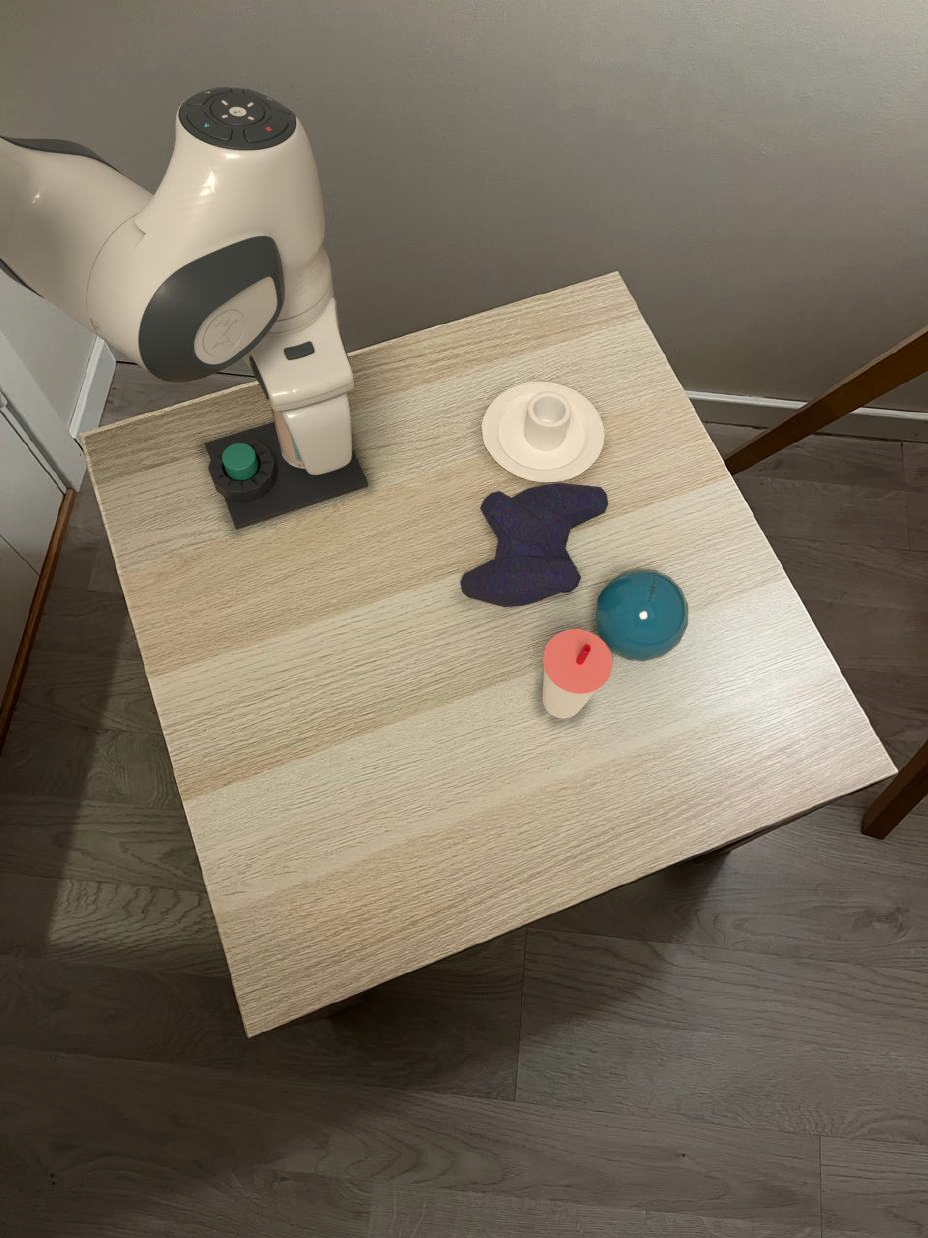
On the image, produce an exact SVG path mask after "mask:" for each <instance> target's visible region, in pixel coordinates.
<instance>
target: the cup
mask: <svg viewBox="0 0 928 1238" xmlns="http://www.w3.org/2000/svg"><path fill="white" fill-rule="evenodd" d="M542 663H543V679H542V680H543V681H542V704H543V707H544V709H545V711H546V712H547V713H548V714H549V715H551V716H553V717H554V718H557V719H561V720H562V719H563V720H564V719H571V718H573V717H574V716H576V715H578V713H580V711H581V709H582V708H584V707H585V705H586V704H587V703H588V702H589V700H591V698H592V697H593V696H594V694H596V692H597V691H598V690H599V689H600V688H602V687H603V686H604V685H605V684H606V683H607V682H608V680H609V678H611V677H610V676H611V675H612V671H613V656H612V653H611V650H610V649H609V648H608V647H607V645H606V644H605V642H604V641H603V640H602V639H601V638H600V637H599V635H597V634H595V633H593V632H591V631H588V630H585V629H582V628H581V629H578V628H572V629H566V630H563V631H560V632H559V633H557V634H555V635H553V637H552V638H551V639H550V640H549V641H548V642H547V644H546V645H545V648H544V651H543V656H542Z"/></svg>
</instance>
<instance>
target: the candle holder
mask: <svg viewBox="0 0 928 1238" xmlns="http://www.w3.org/2000/svg"><path fill="white" fill-rule="evenodd" d="M480 425H481V434H482V441H483V442H482V443H483V445H484V446H485V448H486V450H487V451H488V453H489V454H490V456H491V457H492V458H493V459H494V460H495V462H496V463H497V464H498V465H499V466H501V468H503V469H505V470H506V471H507V472H509V473H511V474H512V475H514V476H515V477H518V478H521V479H524V480H527V481H531V482H537V483H559V482H563V481H567V480H570V479H573V478H576V477H578V476H579V475H581V474H582V473H584V472H586V471H587V470H588V469H589V468H590V467H592V466H593V465H594V464H595V462H596V461H597V459H598V458H599V456H600V455H601V454H602V453H601V452H602V451H603V449H604V443H605V427H604V423H603V420H602V417H601V415H600V413H599V411H598V410H597V408H596V407H595V406H594V404H592V402H591V401H590V400H589V399H588V398H587V397H586V396H584V395H583V394H581V393H580V392H578V391H576V390H575V389H573V388H571V387H569V386H566V385H564V384H560V383H558V382H557V383H556V382H550V381H529V382H528V381H527V382H522V383H520V384H516V385H514V386H511V387H509V388H507V389H506V390H504V391H503V392H501V393H500V394H499V395H497V396H496V397H495V398H494V399H493V400H492V401H491V403H490V404H489V406H488V407H487V409H486V411H485V413H484V416H483V418H482V421H481V424H480Z"/></svg>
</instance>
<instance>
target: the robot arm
mask: <svg viewBox="0 0 928 1238" xmlns="http://www.w3.org/2000/svg"><path fill="white" fill-rule="evenodd" d="M175 116H176V117H175V142H174V148H173V151H172V152H173V153H172V155H171V159H170V161H169V164H168V166H167V169H166V171H165V174H164V176H163V179H162V180H161V182H160V183H159V186H158V187H157V189H156V191H155V193H154V194H152V193H151V192H150V191H149V190H147V189H145V188H143V187H142V186H140V185H139V184H137V183H136V182H134V181H133V180H131V179H130V178H128V177H127V176H125V175H124V174H123V173H122V172H121V171H119V170H118V169H117V168H115V167H114V166H113V165H111V164H110V163H109V162H108V161H106V160H105V159H104V158H103V157H101V156H100V155H99V154H98V153H97V152H95V151H94V150H92V149H90V148H88V147H87V146H85V145H83V144H81V143H78V142H75V141H72V140H65V139H60V138H59V139H58V138H19V137H12V136H11V137H10V136H5V135H0V270H1V271H2V272H3V273H4V274H5V275H6V276H7V277H8V278H10V279H12V281H14V282H16V283H18V284H19V285H21V286H22V287H24V288H25V289H27V290H29V291H30V292H32V293H34V294H35V295H37V296H38V297H40V298H42V299H44V300H46V301H48V302H49V303H51V304H52V305H53V306H55V307H56V308H58V309H59V310H61V312H64V313H65V314H66V315H67V316H69V317H71V319H73V320H75V321H76V322H77V323H79V324H80V325H82V326H83V327H84V328H86V329H87V330H89V331H90V332H91V333H93V334H94V335H96V336H97V337H98V338H100V339H101V340H102V341H104V342H105V343H106V344H107V345H109V346H110V347H112V348H114V349H115V350H116V351H118V352H119V353H121V354H122V355H124V357H126V358H127V359H129V360H131V361H132V362H134V363H135V364H136V365H138V366H139V367H141V368H142V369H144V370H146V371H147V372H149V373H150V374H151V375H153V376H154V377H155V378H157V379H160V380H161V381H164V382H168V383H187V382H193V381H194V382H195V381H199V380H201V379H202V380H203V379H205V378H208V377H211V376H212V375H214V374H215V375H216V374H217V373H220V372H221V371H223V370H225V369H227V368H229V367H231V366H232V365H234V364H235V363H237V362H238V361H240V360H241V359H242V361H243V362H244V363H245V365H247V367H248V368H249V370H251V372H252V374H253V376H254V378H255V380H256V381H257V383H258V384H259V386H260V388H261V390H262V392H263V394H264V396H265V399H266V400H267V401H268V403H269V406H270V405H271V406H270V408H271V407H272V409H273V410H274V411H275V412H280V414H281V416H282V418H283V420H284V422H285V424H286V427H287V429H288V431H289V433H290V436H291V438H292V440H293V443H294V445H295V447H296V450H297V452H298V454H299V457H300V459H301V461H302V464H303V466H304V468H305V469H306V471H307V472H308V473H309V474H311V475H319V474H324V473H327V472H331V471H334V470H337V469H339V468H342V467H344V466H346V465H347V464H348V463H349V462H350V461H351V457H352V448H353V433H352V431H353V430H352V416H351V415H352V414H351V408H350V403H349V397H348V393H347V392H349V391H352V390H353V389H354V387H355V380H354V373H353V369H352V365H351V361H350V358H349V355H348V352H347V350H346V346H345V343H344V340H343V336H342V333H341V330H340V321H339V312H338V311H339V310H338V303H337V300H336V298H335V290H334V281H333V273H332V266H331V262H330V259H329V256H328V254H327V251H326V249H325V248H324V245H323V243H324V239H325V234H326V217H325V210H324V209H325V208H324V200H323V193H322V187H321V181H320V176H319V170H318V167H317V163H316V159H315V155H314V151H313V148H312V145H311V142H310V140H309V137H308V135H307V133H306V130H305V128H304V126H303V124H302V122H301V121H300V119H299V117H298V116H297V115H296V114H295V112H293V111H292V110H291V109H289V108H288V107H286V106H285V105H284V104H283V103H280V102H279V101H277V100H275V99H274V98H271V97H270V96H267V95H266V94H264V93H261V92H258V91H256V90H253V89H251V88H243V87H230V86H219V87H213V88H209V89H205V90H202V91H199V92H196V93H193V94H192V95H190V96H188V97H187V98H186V99H185V100H183V101H182V102H181V104H180V105H179V107H178V109H177V111H176V115H175Z"/></svg>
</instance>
